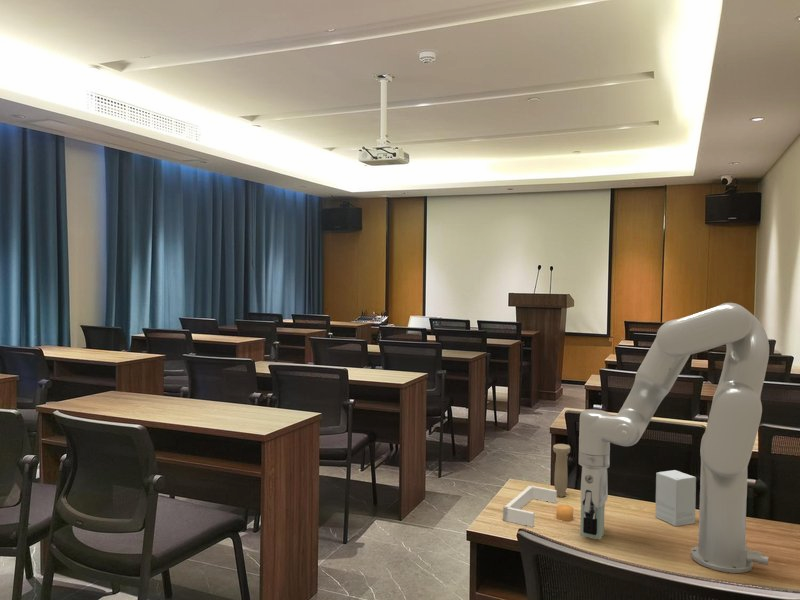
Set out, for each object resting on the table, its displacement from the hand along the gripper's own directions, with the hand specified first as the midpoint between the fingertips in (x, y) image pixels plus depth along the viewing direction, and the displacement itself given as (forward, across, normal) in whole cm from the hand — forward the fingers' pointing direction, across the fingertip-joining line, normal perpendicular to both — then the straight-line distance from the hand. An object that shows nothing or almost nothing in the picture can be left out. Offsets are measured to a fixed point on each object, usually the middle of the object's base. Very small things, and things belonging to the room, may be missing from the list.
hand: (592, 529), depth 153 cm
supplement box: (+2, +23, -17) cm, 29 cm away
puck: (+1, +8, +9) cm, 12 cm away
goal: (+1, +8, +18) cm, 20 cm away
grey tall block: (+1, 0, 0) cm, 1 cm away
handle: (+1, +25, +15) cm, 29 cm away
